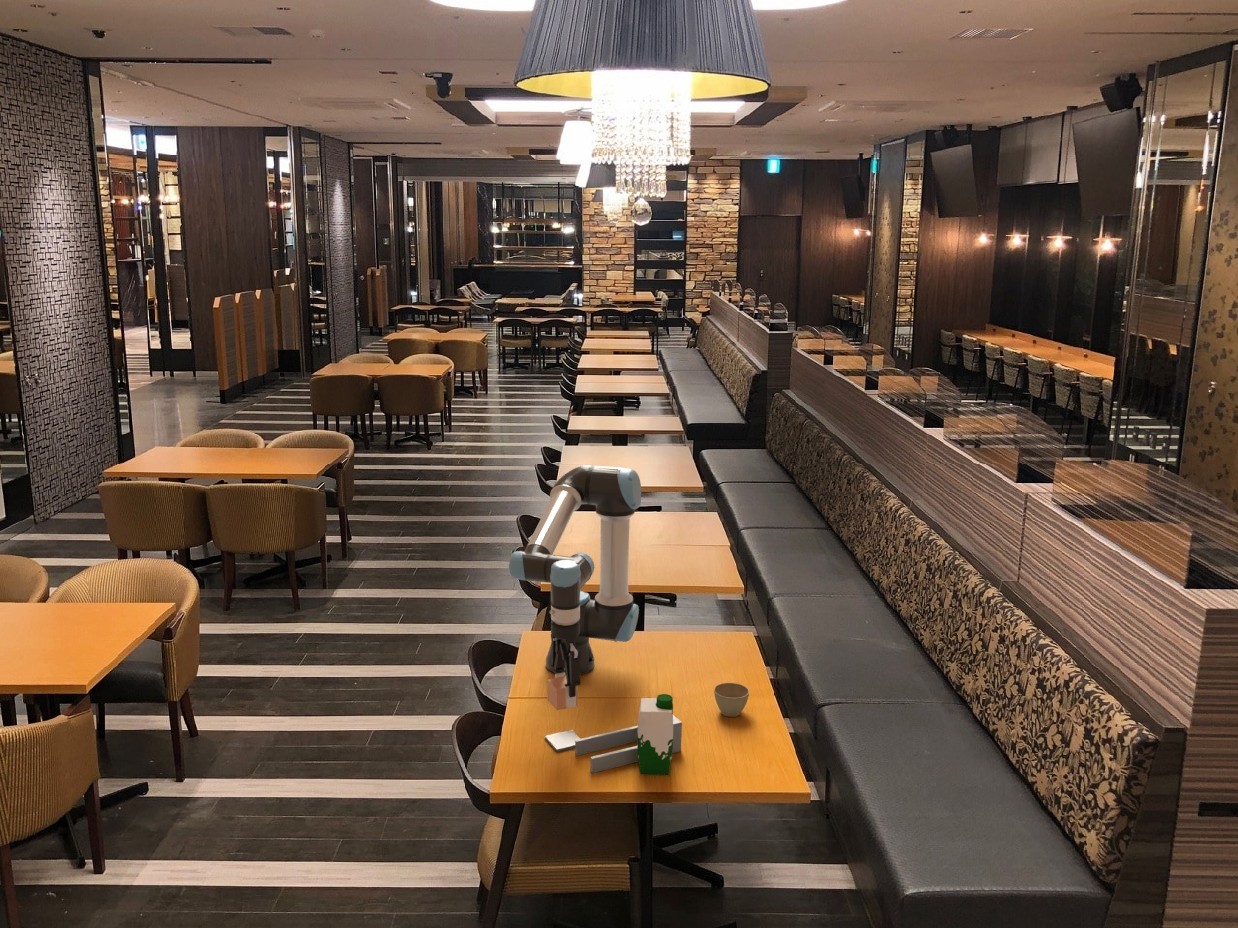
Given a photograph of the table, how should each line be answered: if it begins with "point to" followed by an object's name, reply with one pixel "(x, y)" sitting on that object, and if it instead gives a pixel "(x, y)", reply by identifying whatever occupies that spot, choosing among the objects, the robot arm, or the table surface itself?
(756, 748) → the table surface
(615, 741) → the chute
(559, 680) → the block
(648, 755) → the milk carton
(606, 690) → the table surface
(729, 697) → the flower pot
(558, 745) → the coaster
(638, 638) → the table surface
